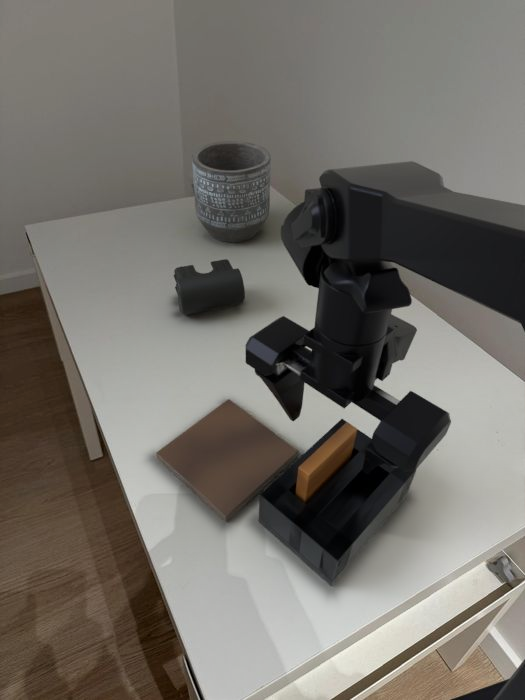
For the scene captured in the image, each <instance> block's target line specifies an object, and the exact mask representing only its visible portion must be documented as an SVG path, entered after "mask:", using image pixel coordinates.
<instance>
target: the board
mask: <svg viewBox="0 0 525 700" xmlns="http://www.w3.org/2000/svg"><path fill="white" fill-rule="evenodd" d="M155 454H156V459H157V460H158V461H159V462H160V463H161V464H162V465H163V466H164V467H166V468H167V469H168V470H169V471H170V472H171V473H172V475H174V476H175V477H176V478H177V479H178V480H179V481H180V482H181V483H183V484H184V485H185V486H186V487H187V488H188V489H189V490H190V491H191V492H193V494H195V495H196V497H198V498H199V499H200V500H201V501H202V502H203V503H204V504H205V505H206V506H208V507H209V508H210V510H212V511H213V512H214V513H215V514H216V515H217V516H218V517H219V518H221V519H222V520H223V521H224V522H225V523H228V521H229V520H231V518H233V517H234V516H235V515H236V514H237V513H238V512H239V511H240V510H241V509H243V507H244V506H245V505H247V504H248V503H249V502H250V501H251V500H252V499H253V498H254V497H256V495H257V494H259V493H260V492H261V491H262V490H263V489H264V488H265V487H266V486H267V485H268V484H269V483H271V482H273V481H274V479H275V478H277V476H279V474H280V473H282V472H283V471H285V470H286V469H287V467H288V466H289V465H290V464H292V462H294V460H296V459H298V456H299V455H298V454H299V450H298V449H296V448H295V447H294V446H292V445H291V444H289V443H288V442H287V441H285V440H284V439H283V438H281V437H280V436H279V435H278V434H277V433H275V432H274V431H272V430H271V429H269V428H268V427H267V426H265V425H264V424H263V423H261V422H260V421H258V420H257V419H256V418H255V417H254V416H252V415H250V414H249V413H248V412H247V411H246V410H244V409H243V408H242V407H240V406H239V405H237V404H236V403H234V402H233V401H232V400H231V399H226V400H225V401H223V402H222V403H221V404H220V405H219V406H217V407H216V408H214V409H213V410H212V411H210V412H209V413H208V414H206V415H205V416H204V417H202V418H201V419H199V420H198V421H196V422H195V423H194V424H193V425H191V426H190V427H189V428H187V429H186V430H184V431H183V432H182V433H181V434H179V435H178V436H177V437H175V438H174V439H173V440H171V441H170V442H169V443H167V444H165V446H163V447H162V448H160V449H159V450H158V451H156V452H155Z"/></svg>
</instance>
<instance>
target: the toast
mask: <svg viewBox="0 0 525 700" xmlns="http://www.w3.org/2000/svg"><path fill="white" fill-rule="evenodd" d="M357 429H358V428H357V427H355V426H354V425H352V424H351V423H350V422H348V421H346V423H345V424H344V425H343V426H342V427H341V428H340V429H339V430H338V431H337V432H336V433H335V434H333V435H332V436H331V437H330V438H329V439H328V440H327V441H326V442H325V443H324V444H323V445H322V446H321V447H320V448H319V449H317V450H316V451H315V452H314V453H313V454H312V455H311V456H310V457H309V458H308V459H307V460H306V461H305V462H304V463H303V464H301V465H300V466H299V468H298V476H297V485H296V493H295V496H296V497H298V498H299V499H300V500H301V501H303V502H304V503H305V504H306V505H307V504H308V503H309V502H310V501H311V500H312V499H313V498H314V497H315V496H316V495H317V494H318V493H319V492H320V491H321V490H322V489H323V488H324V487H325V486H326V485H327V484H328V483H329V482H330V481H331V480H332V479H333V478H334V477H335V476H336V475H337V474H338V473H339V472H340V471H341V470H342V469H343V468H344V467H345V466H346V465H347V463H348V462H349V461H350V459H351V455H352V450H353V446H354V442H355V437H356V433H357Z"/></svg>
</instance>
